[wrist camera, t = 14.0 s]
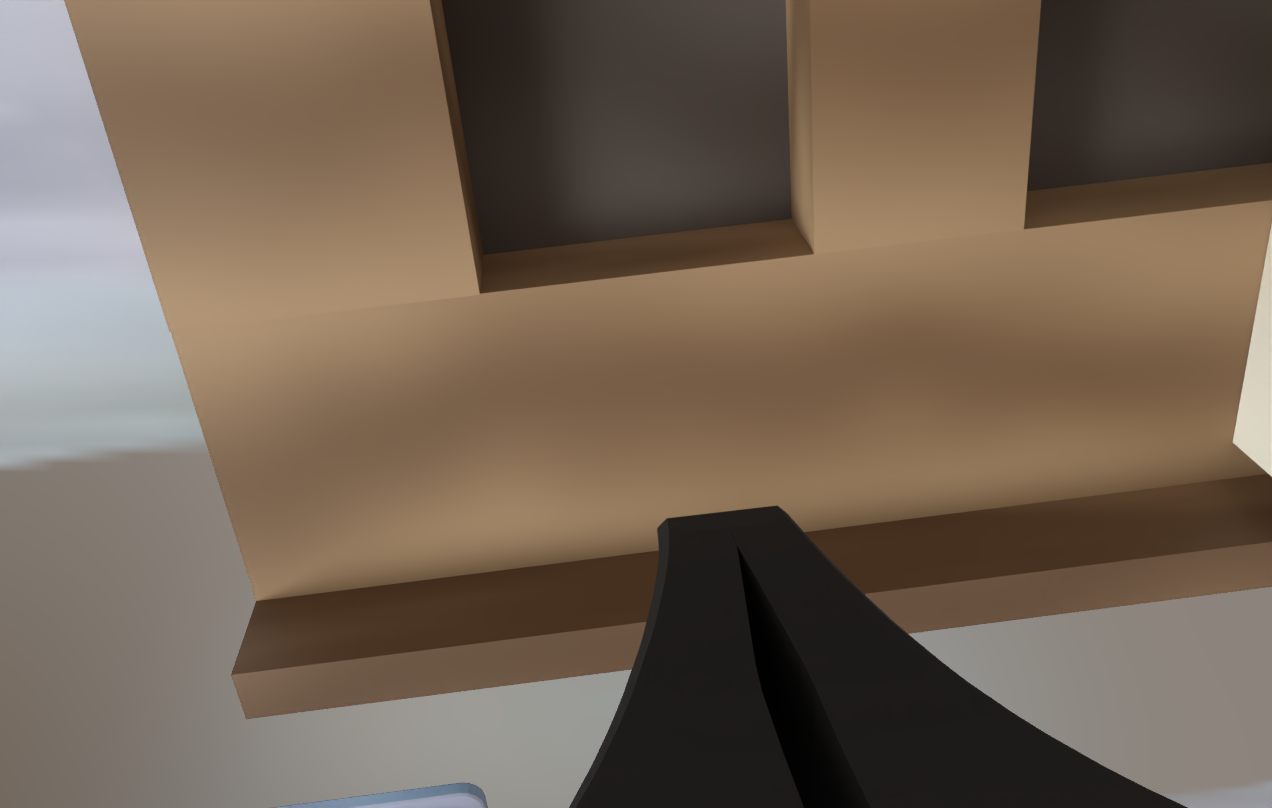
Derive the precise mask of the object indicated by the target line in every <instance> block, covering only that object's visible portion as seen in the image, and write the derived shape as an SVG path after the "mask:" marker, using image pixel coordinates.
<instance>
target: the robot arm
mask: <svg viewBox="0 0 1272 808" xmlns="http://www.w3.org/2000/svg"><path fill="white" fill-rule="evenodd" d="M657 534H658V546H659V559H658V568H657V575H656V581H655V587H654V593H653V598H652V602H651V606H650V610H649V614H648V618H647V622H646V626H645V630H644V634H643V637H642V641H641V644H640V648H639V651H638V653H637V656H636V659H635V662H634V665H633V668H632V671H631V674H630V676H629V679H628V682H627V685H626V688H625V691H624V694H623V696H622V699H621V702H620V704H619V707H618V709H617V711H616V714H615V716H614V719H613V721H612V724H611V726H610V728H609V730H608V733H607V735H606V737H605V739H604V741H603V743H602V745H601V747H600V750H599V752H598V754H597V756H596V758H595V760H594V762H593V764H592V766H591V768H590V770H589V772H588V774H587V776H586V777H585V779H584V781H583V783H582V785H581V787H580V788H579V790H578V792H577V794H576V796H575V798H574V800H573V801H572V803H571V805H570V807H569V808H1187V807H1185V806H1183V805H1181V804H1179V803H1177V802H1175V801H1172V800H1170V799H1168V798H1166V797H1164V796H1162V795H1160V794H1158V793H1155V792H1153V791H1151V790H1149V789H1147V788H1145V787H1143V786H1141V785H1139V784H1137V783H1135V782H1133V781H1131V780H1129V779H1127V778H1125V777H1123V776H1121V775H1119V774H1117V773H1116V772H1114V771H1112V770H1110V769H1108V768H1106V767H1104V766H1102V765H1100V764H1099V763H1097V762H1095V761H1093V760H1091V759H1090V758H1088V757H1086V756H1084V755H1083V754H1081V753H1079V752H1077V751H1076V750H1074V749H1072V748H1070V747H1069V746H1067V745H1065V744H1063V743H1062V742H1060V741H1058V740H1056V739H1054V738H1053V737H1051V736H1049V735H1048V734H1046V733H1044V732H1043V731H1041V730H1039V729H1038V728H1036V727H1035V726H1033V725H1031V724H1030V723H1028V722H1026V721H1025V720H1023V719H1022V718H1020V717H1018V716H1017V715H1015V714H1014V713H1012V712H1011V711H1009V710H1008V709H1006V708H1005V707H1003V706H1002V705H1001V704H999V703H998V702H996V701H995V700H993V699H992V698H990V697H989V696H987V695H986V694H984V693H983V692H982V691H980V690H979V689H977V688H976V687H974V686H973V685H971V684H970V683H968V682H967V681H966V680H964V679H963V678H962V677H960V676H959V675H958V674H957V673H955V672H954V671H953V670H951V669H950V668H949V667H948V666H946V665H945V664H943V663H942V662H941V661H940V660H939V659H938V658H936V657H935V656H934V655H933V654H931V653H930V652H929V651H928V650H926V649H925V648H924V647H923V646H922V645H920V644H919V643H918V642H917V641H915V640H914V639H913V638H912V637H911V636H910V635H909V634H907V633H906V632H905V631H904V630H903V629H902V628H901V627H899V626H898V625H897V624H896V623H895V622H894V621H893V620H891V619H890V618H889V617H888V616H887V615H886V614H885V613H884V612H883V611H882V610H881V609H880V608H879V607H877V606H876V605H875V604H874V603H873V602H872V601H871V600H870V599H869V598H868V597H867V596H866V595H865V594H864V593H863V592H861V591H860V590H859V589H858V588H857V587H856V586H855V585H854V584H853V583H852V582H851V581H850V580H849V579H848V578H847V577H846V576H845V575H844V574H843V573H842V572H841V571H840V570H839V569H838V568H837V567H836V566H835V565H834V564H833V563H832V562H831V561H830V560H829V559H828V558H827V556H826V555H825V554H824V553H823V552H822V551H821V550H820V549H819V548H818V547H817V546H816V545H815V544H814V543H813V542H812V540H811V539H810V538H809V537H808V536H807V535H806V534H805V533H804V532H803V531H802V529H801V528H800V527H799V526H798V525H797V524H796V523H795V521H794V520H793V519H792V518H791V517H790V516H789V515H788V513H786V512H785V511H784V510H783V509H781V508H780V507H779V506H778V505H777V506H768V507H760V508H751V509H742V510H734V511H725V512H717V513H708V514H699V515H691V516H682V517H674V518H667V519H666V520H665V521H664V522H663V523H662V524H661V525H660V526H659V527H658V528H657ZM274 808H488V807H487V802H486V798H485V795H484V793H483V791H482V790H481V789H480V788H479V787H477V786H476V785H473V784H470V783H456V784H448V785H442V786H434V787H426V788H418V789H411V790H403V791H396V792H388V793H381V794H372V795H365V796H357V797H350V798H342V799H335V800H327V801H320V802H312V803H305V804H297V805H289V806H281V807H274Z"/></svg>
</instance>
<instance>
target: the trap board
mask: <svg viewBox="0 0 1272 808" xmlns="http://www.w3.org/2000/svg"><path fill="white" fill-rule="evenodd" d="M64 1H65V4H66V8H67V11H68V14H69V17H70V20H71V23H72V26H73V30H74V33H75V36H76V39H77V42H78V45H79V48H80V52H81V55H82V58H83V61H84V64H85V67H86V70H87V74H88V77H89V80H90V83H91V86H92V89H93V93H94V96H95V99H96V102H97V105H98V108H99V111H100V115H101V118H102V121H103V124H104V127H105V130H106V133H107V137H108V140H109V143H110V146H111V149H112V152H113V155H114V159H115V162H116V165H117V168H118V171H119V174H120V177H121V181H122V184H123V187H124V190H125V193H126V196H127V199H128V203H129V206H130V209H131V212H132V215H133V218H134V221H135V225H136V228H137V231H138V234H139V237H140V240H141V244H142V247H143V250H144V253H145V256H146V259H147V262H148V266H149V269H150V272H151V275H152V278H153V281H154V284H155V288H156V291H157V294H158V297H159V300H160V303H161V306H162V310H163V313H164V316H165V319H166V322H167V325H168V328H169V332H170V331H171V334H172V337H173V340H174V343H175V346H176V350H177V353H178V356H179V359H180V362H181V365H182V369H183V372H184V375H185V378H186V381H187V384H188V387H189V391H190V394H191V397H192V400H193V403H194V406H195V410H196V413H197V416H198V419H199V422H200V425H201V428H202V432H203V435H204V438H205V441H206V444H207V447H208V450H209V454H210V457H211V460H212V463H213V466H214V469H215V473H216V476H217V478H218V482H219V485H220V488H221V491H222V495H223V498H224V501H225V504H226V507H227V510H228V514H229V517H230V520H231V523H232V526H233V529H234V532H235V536H236V539H237V542H238V545H239V548H240V551H241V554H242V557H243V561H244V564H245V567H246V570H247V573H248V576H249V580H250V583H251V586H252V589H253V592H254V595H255V599H256V604H255V607H254V610H253V613H252V615H251V618H250V621H249V624H248V627H247V630H246V633H245V636H244V639H243V642H242V645H241V648H240V650H239V653H238V656H237V660H236V662H235V665H234V668H233V671H232V674H231V676H232V679H233V682H234V685H235V688H236V690H237V693H238V696H239V699H240V702H241V705H242V708H243V711H244V714H245V717H246V719H250V718H259V717H266V716H274V715H281V714H289V713H297V712H305V711H313V710H320V709H328V708H336V707H343V706H351V705H359V704H366V703H375V702H382V701H389V700H397V699H406V698H413V697H421V696H429V695H437V694H444V693H452V692H460V691H467V690H475V689H483V688H491V687H499V686H506V685H514V684H521V683H529V682H537V681H544V680H553V679H560V678H568V677H576V676H583V675H591V674H599V673H607V672H615V671H621V670H630V669H632V668H633V665H634V662H635V659H636V656H637V653H638V651H639V648H640V644H641V641H642V637H643V634H644V630H645V626H646V622H647V618H648V614H649V610H650V606H651V602H652V598H653V593H654V587H655V581H656V575H657V568H658V559H659V546H658V534H657V528H658V527H659V526H660V525H661V524H662V523H663V522H664V521H665V520H666V519H667V518H674V517H682V516H691V515H699V514H708V513H717V512H725V511H734V510H742V509H751V508H760V507H768V506H777V505H778V506H779V507H780V508H781V509H783V510H784V511H785V512H786V513H788V515H789V516H790V517H791V518H792V519H793V520H794V521H795V523H796V524H797V525H798V526H799V527H800V528H801V529H802V531H803V532H804V533H805V534H806V535H807V536H808V537H809V538H810V539H811V540H812V542H813V543H814V544H815V545H816V546H817V547H818V548H819V549H820V550H821V551H822V552H823V553H824V554H825V555H826V556H827V558H828V559H829V560H830V561H831V562H832V563H833V564H834V565H835V566H836V567H837V568H838V569H839V570H840V571H841V572H842V573H843V574H844V575H845V576H846V577H847V578H848V579H849V580H850V581H851V582H852V583H853V584H854V585H855V586H856V587H857V588H858V589H859V590H860V591H861V592H863V593H864V594H865V595H866V596H867V597H868V598H869V599H870V600H871V601H872V602H873V603H874V604H875V605H876V606H877V607H879V608H880V609H881V610H882V611H883V612H884V613H885V614H886V615H887V616H888V617H889V618H890V619H891V620H893V621H894V622H895V623H896V624H897V625H898V626H899V627H901V628H902V629H903V630H904V631H905V632H906V633H907V634H909V633H916V632H924V631H932V630H939V629H947V628H955V627H963V626H971V625H978V624H986V623H994V622H1001V621H1009V620H1017V619H1024V618H1033V617H1040V616H1048V615H1056V614H1063V613H1071V612H1079V611H1087V610H1094V609H1101V608H1109V607H1117V606H1125V605H1133V604H1140V603H1149V602H1156V601H1164V600H1171V599H1179V598H1187V597H1195V596H1202V595H1211V594H1217V593H1226V592H1233V591H1241V590H1249V589H1256V588H1265V587H1271V586H1272V476H1270V475H1269V474H1268V473H1267V472H1266V471H1265V470H1264V469H1262V468H1261V467H1260V466H1259V465H1258V464H1257V463H1256V462H1254V461H1253V460H1252V459H1251V458H1250V457H1249V456H1248V455H1246V454H1245V453H1244V452H1243V451H1242V450H1241V449H1239V448H1238V447H1237V446H1236V445H1235V444H1234V443H1233V437H1234V431H1235V426H1236V420H1237V415H1238V409H1239V403H1240V398H1241V392H1242V387H1243V381H1244V375H1245V370H1246V364H1247V359H1248V353H1249V347H1250V342H1251V336H1252V331H1253V325H1254V319H1255V314H1256V308H1257V303H1258V297H1259V291H1260V286H1261V280H1262V275H1263V269H1264V263H1265V258H1266V252H1267V247H1268V241H1269V235H1270V230H1271V224H1272V0H64Z"/></svg>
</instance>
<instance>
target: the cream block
mask: <svg viewBox="0 0 1272 808" xmlns="http://www.w3.org/2000/svg"><path fill="white" fill-rule="evenodd" d="M1233 443H1234V444H1235V445H1236V446H1237V447H1238V448H1239V449H1241V450H1242V451H1243V452H1244V453H1245V454H1246V455H1248V456H1249V457H1250V458H1251V459H1252V460H1253V461H1254V462H1256V463H1257V464H1258V465H1259V466H1260V467H1261V468H1262V469H1264V470H1265V471H1266V472H1267V473H1268V474H1269V475H1270V476H1272V224H1271V230H1270V235H1269V241H1268V247H1267V252H1266V258H1265V263H1264V269H1263V275H1262V280H1261V286H1260V291H1259V297H1258V303H1257V308H1256V314H1255V319H1254V325H1253V331H1252V336H1251V342H1250V347H1249V353H1248V359H1247V364H1246V370H1245V375H1244V381H1243V387H1242V392H1241V398H1240V403H1239V409H1238V415H1237V420H1236V426H1235V431H1234V437H1233Z"/></svg>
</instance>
